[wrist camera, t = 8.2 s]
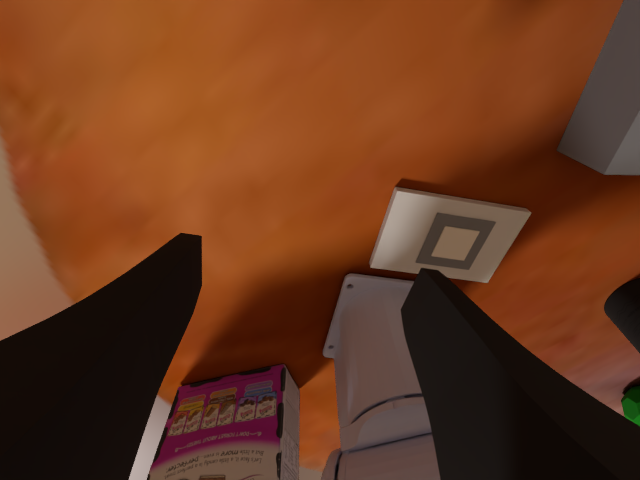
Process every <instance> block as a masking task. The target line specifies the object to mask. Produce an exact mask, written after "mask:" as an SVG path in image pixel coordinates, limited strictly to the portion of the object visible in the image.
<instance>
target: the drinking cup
mask: <svg viewBox="0 0 640 480" xmlns="http://www.w3.org/2000/svg"><path fill="white" fill-rule="evenodd" d="M604 310H605V313H606V315H607V316H608V317H609V318H610V319H611V320H612V322H613V323H614V324H615V325H616V326H617V327H618V328H619V330H620V331H621V332H622V333H623V334H624V335H625V337H626V338H627V339H628V340H629V341H630V342H631V344H632V345H633V346H634V347H635V348H636V349H637V350H638V352H639V353H640V278H639V279H636V280H633V281H631V282H629V283H627V284H625V285H623V286H622V287H620V288H619V289H617V290H616V291H615V292H614V293H613V294H612V295H611V296H610V297H609V298H608V299H607V301H606V303H605V307H604Z"/></svg>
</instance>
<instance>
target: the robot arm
mask: <svg viewBox="0 0 640 480" xmlns="http://www.w3.org/2000/svg"><path fill="white" fill-rule="evenodd" d="M349 284H352V285H351V286H347V285H349ZM201 286H202V236H199V235H192V234H185V233H180V234H179V235H177V236H176V237H174V238H173V239H172V240H170V241H169V242H168V243H166V244H165V245H163V246H162V247H161V248H159V249H158V250H157V251H155V252H154V253H153V254H151V255H150V256H149V257H147V258H146V259H144V260H143V261H142V262H140V263H139V264H137V265H136V266H135V267H133V268H132V269H130V270H129V271H127V272H126V273H125V274H123V275H122V276H120V277H118V278H117V279H115V280H114V281H112V282H111V283H109V284H107V285H106V286H104V287H103V288H101V289H100V290H98V291H96V292H95V293H93V294H92V295H90V296H88V297H86V298H85V299H83V300H81V301H79V302H78V303H76V304H74V305H72V306H71V307H68V308H67V309H65V310H63V311H61V312H59V313H57V314H55V315H54V316H52V317H50V318H48V319H46V320H44V321H42V322H40V323H37V324H35V325H33V326H31V327H29V328H27V329H25V330H23V331H20V332H18V333H16V334H14V335H12V336H10V337H8V338H5V339H3V340H1V341H0V480H128V479H129V476H130V472H131V470H132V467H133V464H134V461H135V457H136V454H137V452H138V448H139V445H140V442H141V439H142V436H143V433H144V430H145V427H146V424H147V422H148V419H149V416H150V413H151V410H152V407H153V404H154V401H155V398H156V396H157V393H158V391H159V388H160V386H161V383H162V381H163V378H164V376H165V374H166V372H167V370H168V368H169V365H170V363H171V361H172V359H173V357H174V354H175V352H176V350H177V348H178V346H179V344H180V341H181V339H182V337H183V335H184V333H185V330H186V328H187V326H188V324H189V321H190V319H191V317H192V315H193V312H194V309H195V306H196V303H197V299H198V296H199V293H200V290H201ZM323 356H325V357H327V358H334V366H335V379H336V393H337V407H338V419H339V425H340V442H341V448H339V449H336V450H334V451H332V452H331V454H330V455H329V457H328V460H327V462H326V466H325V468H324V470H323V473H322V477H321V480H640V426H639V425H637V424H635V423H634V422H632V421H630V420H629V419H627V418H625V417H624V416H622V415H620V414H619V413H617V412H616V411H614V410H612V409H611V408H609V407H608V406H606V405H604V404H603V403H601V402H600V401H598V400H597V399H595V398H594V397H592V396H591V395H589V394H588V393H586V392H585V391H583V390H582V389H580V388H579V387H577V386H576V385H574V384H573V383H571V382H570V381H569V380H567V379H566V378H564V377H563V376H562V375H560V374H559V373H557V372H556V371H555V370H553V369H552V368H551V367H549V366H548V365H547V364H545V363H544V362H543V361H541V360H540V359H539V358H537V357H536V356H535V355H534V354H532V353H531V352H530V351H528V350H527V349H526V348H525V347H523V346H522V345H521V344H520V343H519V342H517V341H516V340H515V339H514V338H513V337H512V336H510V335H509V334H508V333H507V332H506V331H505V330H503V329H502V328H501V327H500V326H499V325H498V324H497V323H495V322H494V321H493V320H492V319H491V318H490V317H489V316H488V315H487V314H486V313H484V312H483V311H482V310H481V309H480V308H479V307H478V306H477V305H476V304H475V303H474V302H473V301H472V300H471V299H470V298H468V297H467V296H466V295H465V294H464V293H463V292H462V291H461V290H460V289H459V288H458V287H457V286H456V285H455V284H454V283H452V282H451V281H450V280H449V279H448V278H447V277H446V276H445V275H444V274H442V273H441V272H440V271H439V270H434V269H427V268H421V269H420V271H419V273H418V275H417V277H416V279H415V281H408V280H400V279H392V278H384V277H377V276H369V275H361V274H353V273H352V274H347V275H346V276H345V278H344V281H343V284H342V288H341V291H340V295H339V298H338V301H337V305H336V308H335V311H334V315H333V318H332V321H331V325H330V328H329V331H328V335H327V338H326V342H325V345H324V348H323Z"/></svg>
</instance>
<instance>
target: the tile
mask: <svg viewBox="0 0 640 480" xmlns="http://www.w3.org/2000/svg"><path fill="white" fill-rule="evenodd" d="M530 215H531V212H530V211H529V210H528V209H526V208H521V207H515V206H509V205H503V204H497V203H491V202H485V201H479V200H473V199H467V198H460V197H454V196H448V195H442V194H436V193H430V192H424V191H418V190H412V189H406V188H400V187H395V188H394V191H393V194H392V197H391V200H390V203H389V206H388V208H387V211H386V214H385V217H384V220H383V223H382V226H381V229H380V232H379V235H378V238H377V241H376V244H375V247H374V249H373V252H372V255H371V258H370V261H369V264H370V268H377V269H385V270H392V271H400V272H408V273H415V274H418V273H419V271H420V269H421V268H427V269H434V270H439V271H440V272H441V273H442V274H444V275H445V276H446V277H447V278H454V279H461V280H469V281H477V282H484V283H488V281H489V280H490V278H491V276H492V275H493V273H494V272H495V270H496V269H497V267H498V265H499V264H500V262H501V261H502V259H503V257H504V256H505V254H506V253H507V251H508V249H509V248H510V246H511V245H512V243H513V242H514V240H515V238H516V237H517V235H518V234H519V232H520V230H521V229H522V227H523V226H524V224H525V223H526V221H527V219H528V218H529V216H530Z"/></svg>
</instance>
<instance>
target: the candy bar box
mask: <svg viewBox="0 0 640 480" xmlns="http://www.w3.org/2000/svg"><path fill="white" fill-rule="evenodd" d="M299 410H300V391H299V388H298V386H297V384H296V383H295V381H294V380H293V379H292V377H291V375H290V373H289V371H288V369H287V368H286V366H285V365H284V364H280V365H275V366H271V367H266V368H261V369H257V370H252V371H247V372H243V373H239V374H234V375H230V376H225V377H221V378H216V379H212V380H208V381H203V382H198V383H194V384H190V385H185V386H181V387H178V390H177V393H176V396H175V399H174V402H173V404H172V407H171V410H170V413H169V416H168V419H167V422H166V425H165V428H164V431H163V434H162V437H161V440H160V442H159V445H158V448H157V451H156V454H155V457H154V460H153V463H152V465H151V468H150V471H149V474H148V478H147V480H299Z"/></svg>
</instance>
